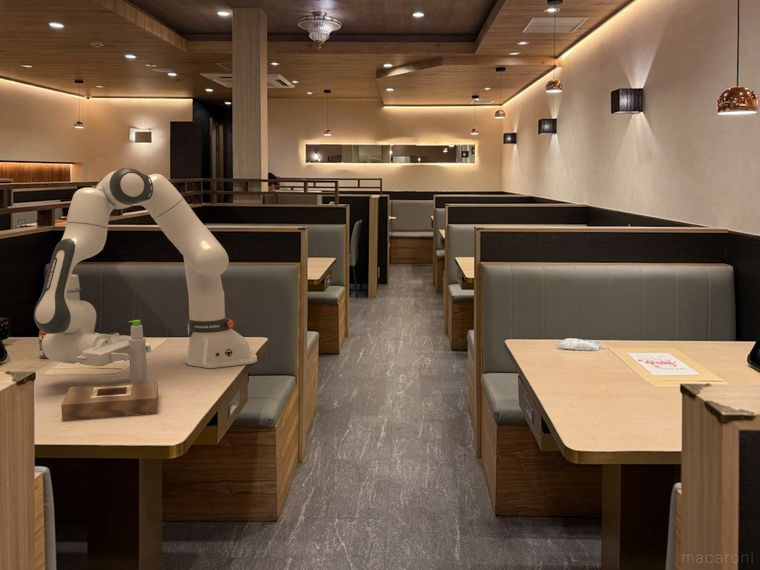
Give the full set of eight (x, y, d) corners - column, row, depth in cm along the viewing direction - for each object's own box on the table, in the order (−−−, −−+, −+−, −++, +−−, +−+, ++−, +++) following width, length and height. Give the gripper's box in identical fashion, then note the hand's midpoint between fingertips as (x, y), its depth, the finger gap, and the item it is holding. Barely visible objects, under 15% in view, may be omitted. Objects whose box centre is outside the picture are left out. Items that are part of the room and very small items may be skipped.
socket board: (158, 395, 200) (157, 380, 199) (156, 413, 184) (156, 396, 184) (70, 401, 194) (69, 386, 193) (62, 420, 178) (61, 403, 178)
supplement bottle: (40, 360, 239) (38, 325, 237) (39, 356, 244) (37, 322, 242) (60, 358, 241) (58, 324, 240) (59, 354, 247) (57, 321, 245)
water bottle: (78, 348, 255) (74, 277, 251) (55, 348, 255) (51, 276, 251) (89, 342, 264) (85, 273, 260) (67, 342, 264) (63, 273, 260)
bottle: (133, 389, 205) (130, 319, 202) (149, 389, 205) (146, 319, 202) (129, 394, 201) (125, 322, 198) (145, 394, 201) (142, 322, 198)
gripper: (70, 346, 195) (115, 350, 191) (118, 331, 214) (159, 334, 210) (71, 369, 196) (116, 373, 192) (119, 352, 215) (160, 355, 211)
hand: (139, 353), depth 201 cm, fingers open, 8 cm apart
